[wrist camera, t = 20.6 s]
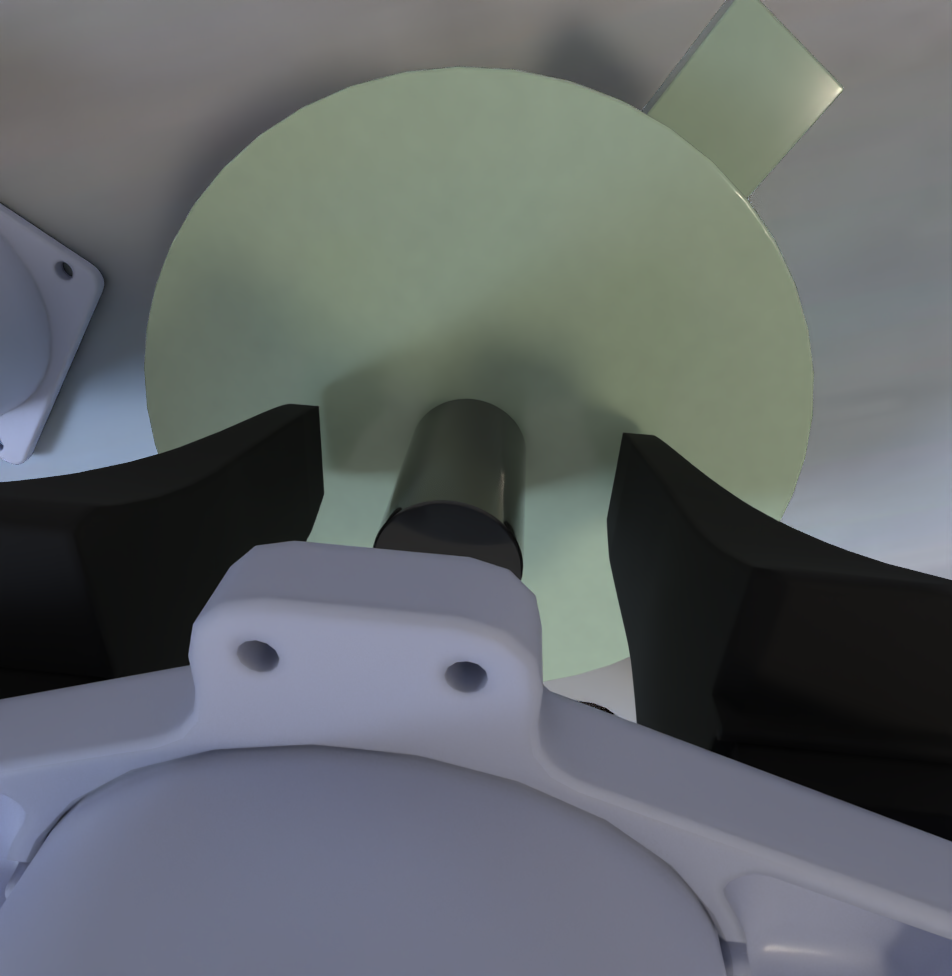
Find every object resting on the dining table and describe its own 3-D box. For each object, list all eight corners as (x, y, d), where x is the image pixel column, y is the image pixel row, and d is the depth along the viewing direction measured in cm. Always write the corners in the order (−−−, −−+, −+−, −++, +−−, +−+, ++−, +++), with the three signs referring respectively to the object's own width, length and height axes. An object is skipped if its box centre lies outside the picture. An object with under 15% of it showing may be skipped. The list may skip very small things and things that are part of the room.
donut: (711, 580, 24) (430, 582, 25) (739, 649, 21) (418, 650, 22) (684, 767, 29) (450, 764, 30) (703, 844, 26) (443, 839, 27)
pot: (175, 441, 22) (57, 553, 17) (506, -151, 14) (490, -303, 9) (478, 628, 26) (463, 774, 20) (890, 226, 18) (1052, 285, 12)
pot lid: (81, 470, 16) (-88, 608, 12) (377, -141, 10) (260, -318, 6) (522, 726, 20) (518, 909, 15) (941, 379, 14) (1135, 514, 9)
